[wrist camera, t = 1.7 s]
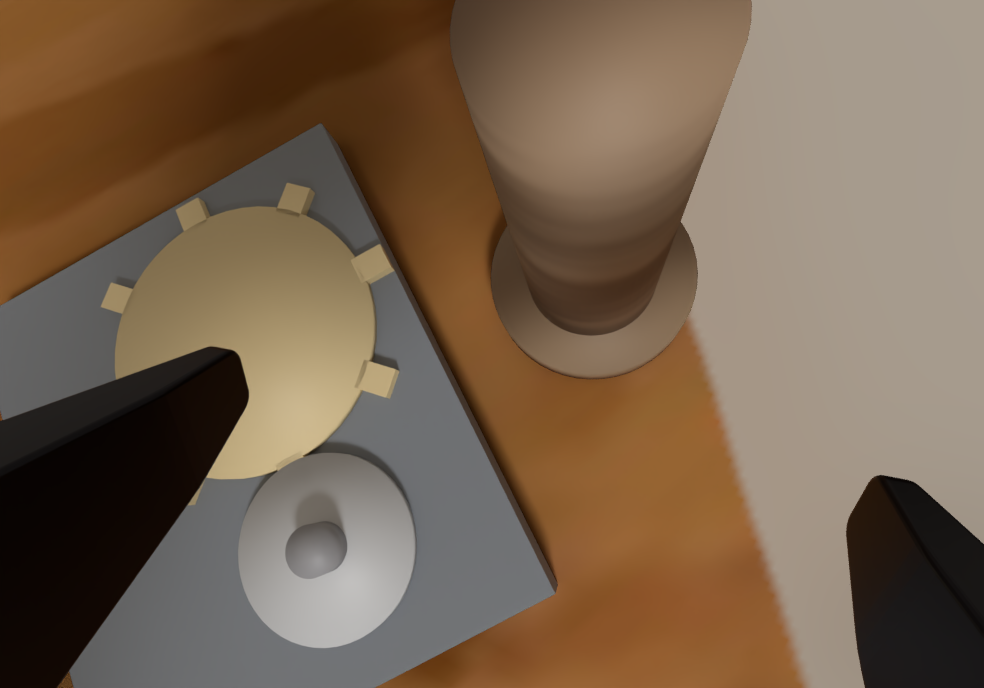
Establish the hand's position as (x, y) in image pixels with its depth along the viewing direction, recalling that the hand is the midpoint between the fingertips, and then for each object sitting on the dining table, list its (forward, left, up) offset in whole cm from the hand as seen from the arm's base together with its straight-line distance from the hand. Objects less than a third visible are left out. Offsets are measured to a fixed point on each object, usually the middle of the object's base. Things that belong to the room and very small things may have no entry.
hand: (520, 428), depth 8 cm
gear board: (+6, +10, -12) cm, 17 cm away
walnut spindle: (+5, -4, -12) cm, 14 cm away
